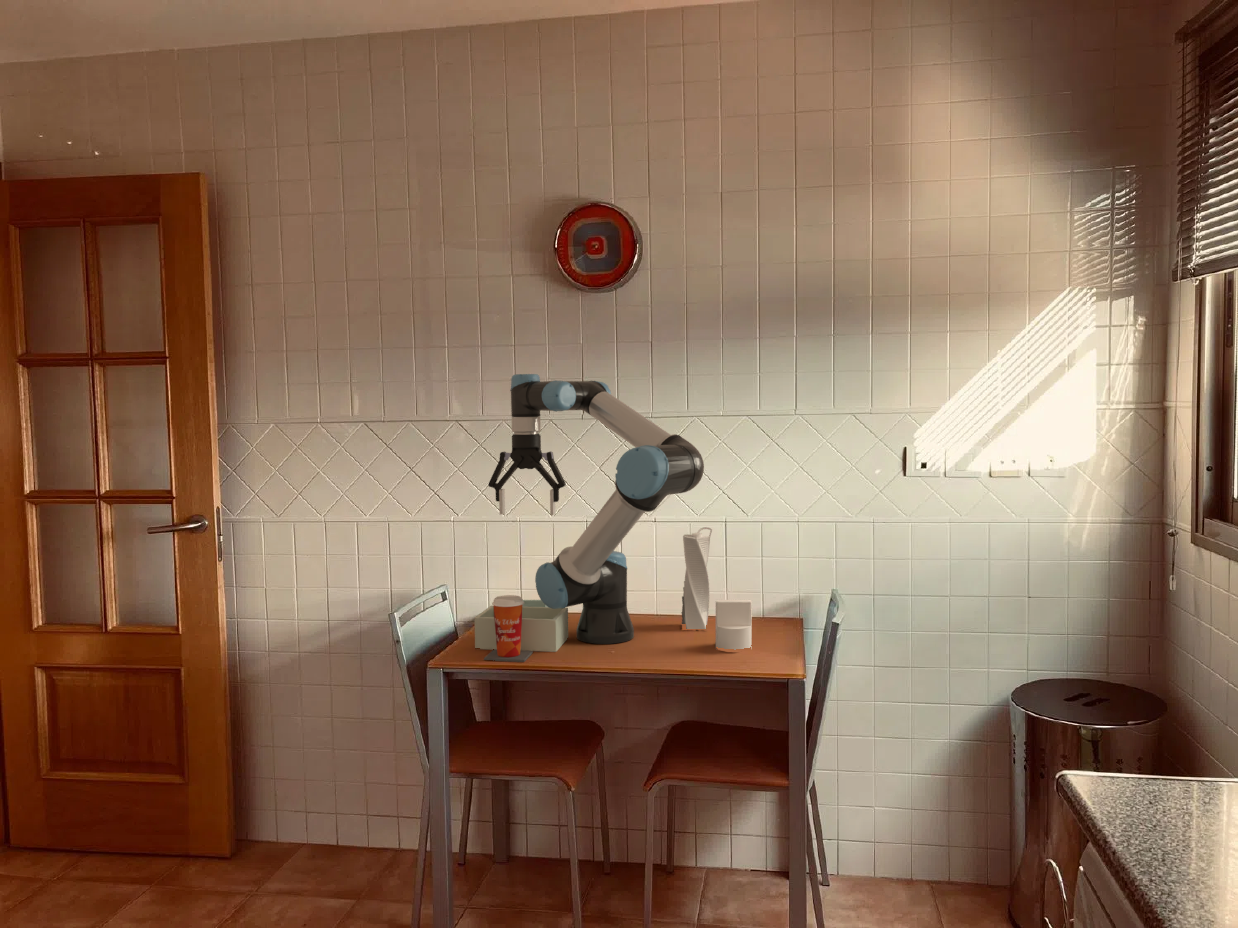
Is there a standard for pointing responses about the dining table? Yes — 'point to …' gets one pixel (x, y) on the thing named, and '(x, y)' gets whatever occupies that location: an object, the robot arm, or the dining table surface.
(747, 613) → the base with upright slab
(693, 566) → the skyscraper
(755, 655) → the dining table surface
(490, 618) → the crate
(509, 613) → the paper cup
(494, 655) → the mat
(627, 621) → the robot arm
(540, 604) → the l-shaped corner panel
